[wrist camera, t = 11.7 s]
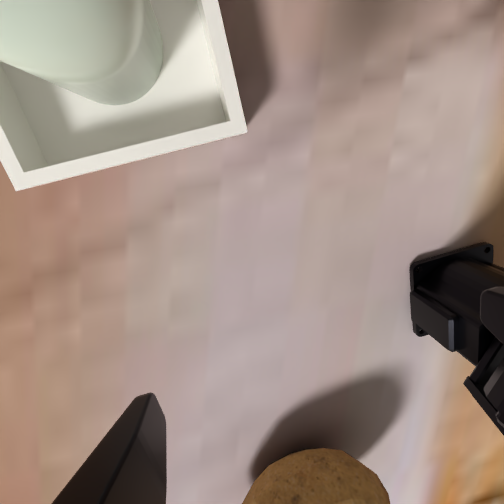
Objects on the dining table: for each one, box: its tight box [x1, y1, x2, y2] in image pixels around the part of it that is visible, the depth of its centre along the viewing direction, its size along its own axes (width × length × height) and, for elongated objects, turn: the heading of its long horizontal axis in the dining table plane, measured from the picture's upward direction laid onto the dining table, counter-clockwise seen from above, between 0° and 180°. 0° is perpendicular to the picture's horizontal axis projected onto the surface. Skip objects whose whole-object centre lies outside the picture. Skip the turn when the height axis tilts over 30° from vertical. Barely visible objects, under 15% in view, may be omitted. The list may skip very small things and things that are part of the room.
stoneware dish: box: [0, 0, 248, 191], centre depth 14 cm, size 11×11×3 cm
